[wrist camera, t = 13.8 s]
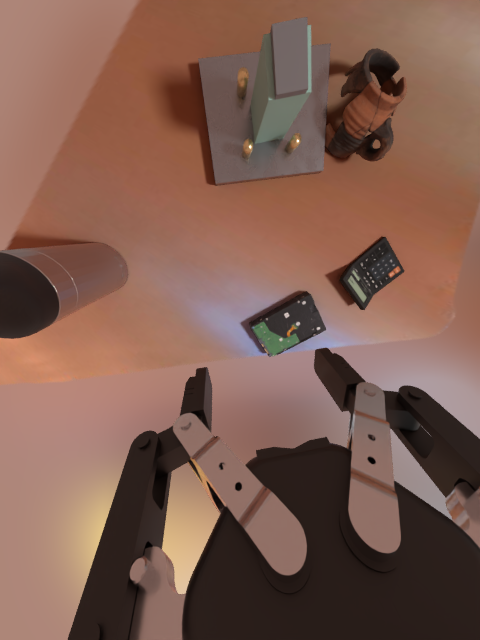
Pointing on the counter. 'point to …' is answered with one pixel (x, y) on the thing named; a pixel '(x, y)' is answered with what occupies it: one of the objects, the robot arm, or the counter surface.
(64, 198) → the counter surface
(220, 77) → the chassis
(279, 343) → the disk drive
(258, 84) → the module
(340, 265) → the counter surface
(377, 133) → the pottery mug
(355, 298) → the calculator
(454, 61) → the counter surface
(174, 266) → the counter surface
